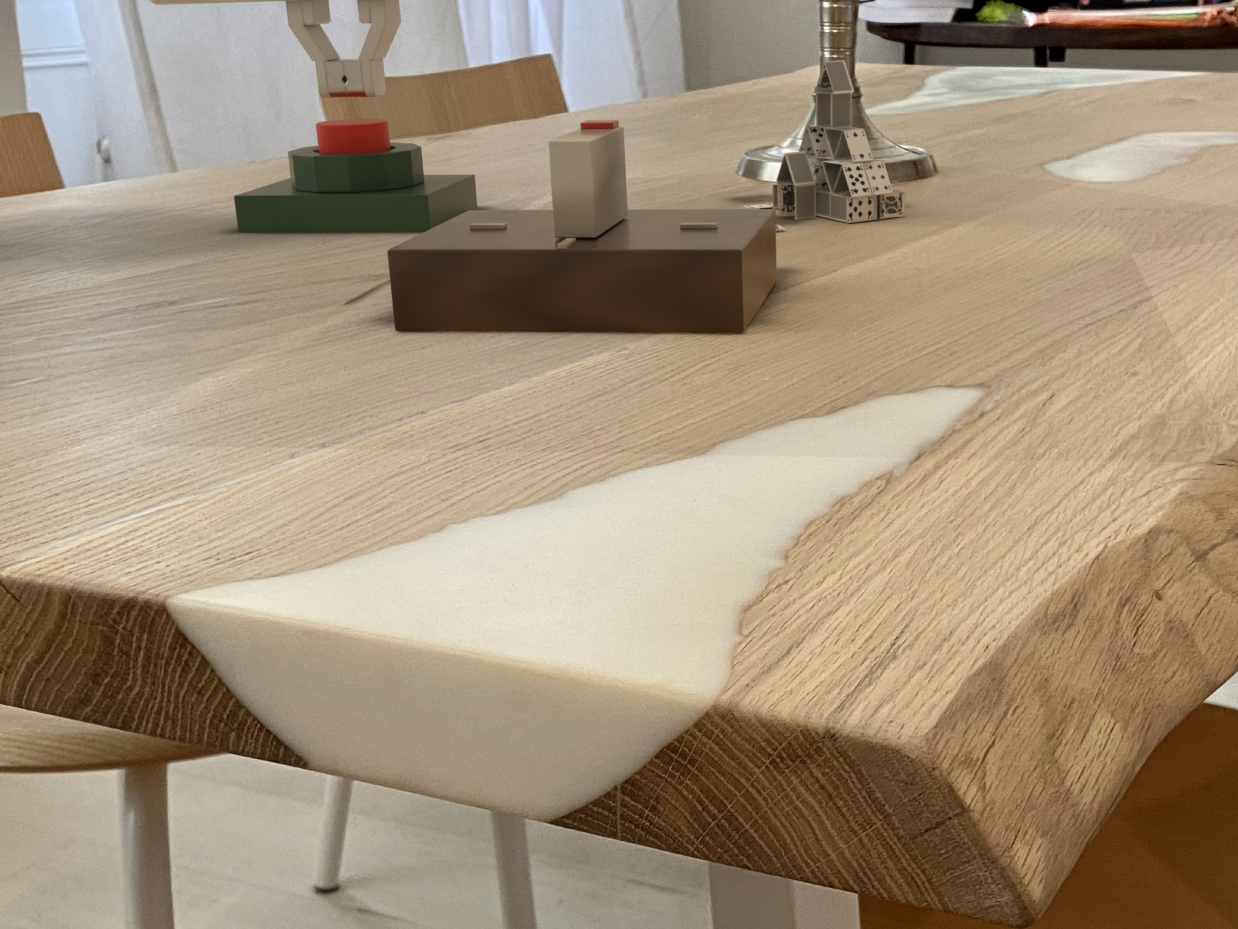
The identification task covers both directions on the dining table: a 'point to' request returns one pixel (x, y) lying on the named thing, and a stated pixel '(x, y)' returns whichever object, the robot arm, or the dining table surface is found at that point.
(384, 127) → the button
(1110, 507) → the dining table surface
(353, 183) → the button block
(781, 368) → the dining table surface
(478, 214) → the brown slotted block
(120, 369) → the dining table surface
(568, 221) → the beige block
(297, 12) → the robot arm
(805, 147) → the house of cards
